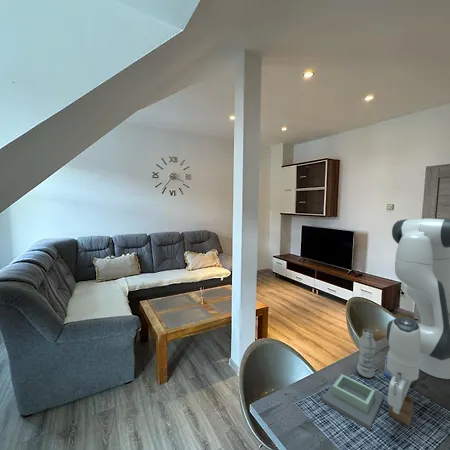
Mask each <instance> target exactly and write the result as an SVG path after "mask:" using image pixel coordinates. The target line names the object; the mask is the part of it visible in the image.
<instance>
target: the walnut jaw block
mask: <svg viewBox="0 0 450 450" xmlns="http://www.w3.org/2000/svg"><path fill="white" fill-rule="evenodd" d="M413 408H414V397H413V396H411V395H409V394H408V393H407V394H406V397H405V399H404V402H403V404H402V407H401V409H400V413H399V414H396V413H394V412H393V407H392V406H390V405H389V404H388V416H389V417H390V418H391V417H392V418H394V420H396V421H399V422H401V423H402V424H405V425H406V426H408V427H410V426H411V423H412V420H413V419H412V418H413Z"/></svg>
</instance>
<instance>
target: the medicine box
mask: <svg viewBox="0 0 450 450" xmlns="http://www.w3.org/2000/svg"><path fill="white" fill-rule="evenodd" d="M387 357H388V355H386V356H385V361H384V372H383V375H384V377H386V378H388V379H389V380H391V379H392V377H393V375H392V374H391V372H390V371H389V370H388V368H387Z"/></svg>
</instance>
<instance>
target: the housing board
mask: <svg viewBox="0 0 450 450" xmlns="http://www.w3.org/2000/svg"><path fill="white" fill-rule="evenodd" d="M384 399H385V394H383V393H381V392H379V391H377V390H375V389H374V388H372V387H369V386H367V385H365V384H364V383H361V382H359V381H358V380H355V379H353V378H351V377H348V376H347V375H345V374H343V373H340V374H339V375H338V377H337V378H336V380H335V381H334V382H333V383H332V385H331V386H330V387H329V389H327V391H326V393H325V394H324V395H323V396H322V399H321V401H322V403H323V404H325V405H327V406H328V407H330V408H332V409H333V410H335V411H337V412H339V413H340V414H342V415H344V416H345V417H347V418H349V419H350V420H352V421H353V422H355V423H356V424H359V425H360V426H362V427H363V428H365V429H367V430H369V431H370V430H371V427H372V426H373V423H374V421H375V419H376V417H377V415H378V413H379V410H380V409H381V406H382V404H383V402H384Z"/></svg>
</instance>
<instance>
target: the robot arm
mask: <svg viewBox="0 0 450 450" xmlns="http://www.w3.org/2000/svg"><path fill="white" fill-rule="evenodd" d="M391 237H392V238H393V240H394V241H395V243H396V244H397V245H398V246H397V248H396V253H395V260H394V274H395V276H396V277H397V279H398V280H399V281H400V282H401V283H403V284H404V285H405V286H406V293H407V295H408V297H410V298H411V300H412V301H413V302H414V304H415V306H416V307H417V310H418V313H419V317H420V323H419V322H417V321H414V320H413V319H411V318H407V317H395V318H393V319H391V320H390V321H389V322H388V323H387V327H386V340H387V342H388V346H389V348H388V349H389V350H388V351H387V356H388V357H387V368H388V370H389V371H390V372H391V374H392V375H393V377H392V379H390V381H389V385H388V392H387V401H386V402H387V404H388V406H389V405H390V406H392V407H393V412H394V413H396V414H399V413H400V409H401V407H402V404H403V402H404V399H405V397H406V394H407V395H408V392H409V389H410V386H411V384H412V382H414V381H417V380H418V379H419V374H420V371H422V372H423V373H425V374H428V375H429V376H432V377H434V378H438V379H443V380H450V317H449V315H450V218H445V219H443V218H427V217H426V218H425V217H424V218H413V219H406V218H405V219H400V220H397V221H396V222H395V223H394V224H393V226H392V229H391Z"/></svg>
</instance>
